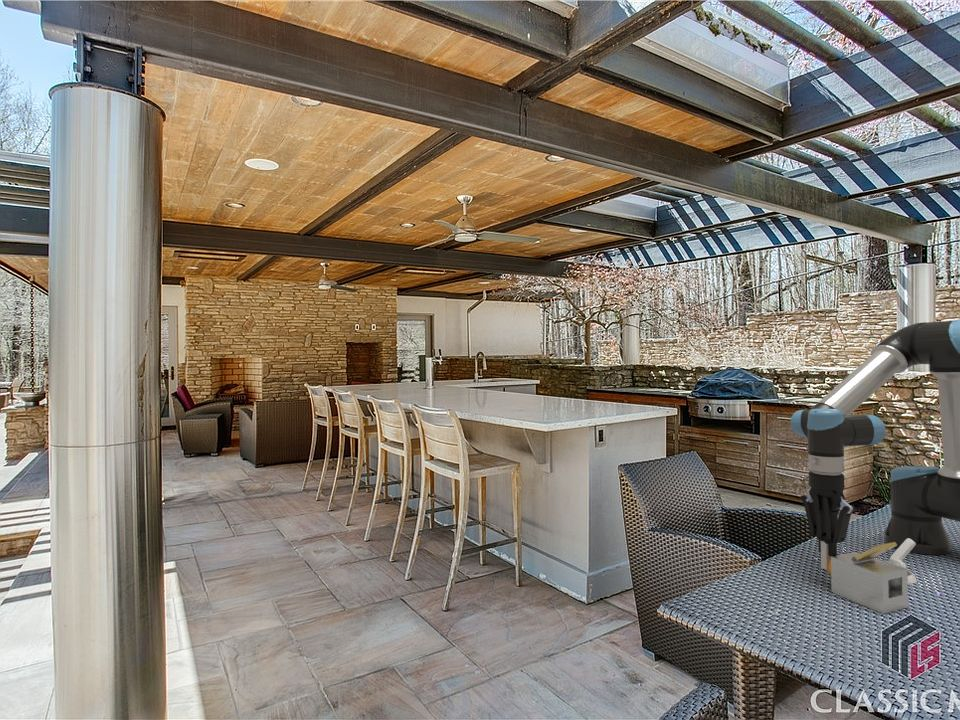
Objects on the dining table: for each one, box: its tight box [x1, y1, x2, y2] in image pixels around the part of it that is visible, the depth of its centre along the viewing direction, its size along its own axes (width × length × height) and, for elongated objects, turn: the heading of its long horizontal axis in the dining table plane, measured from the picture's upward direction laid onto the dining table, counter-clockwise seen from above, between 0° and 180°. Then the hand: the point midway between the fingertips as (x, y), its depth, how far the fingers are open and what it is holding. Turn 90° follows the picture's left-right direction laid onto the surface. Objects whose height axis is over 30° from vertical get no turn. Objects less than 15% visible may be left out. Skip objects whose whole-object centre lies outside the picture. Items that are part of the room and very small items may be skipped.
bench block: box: [830, 551, 909, 614], centre depth 129 cm, size 8×12×8 cm, turn 20°
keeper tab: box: [852, 542, 897, 562], centre depth 127 cm, size 6×8×1 cm
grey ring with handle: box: [887, 538, 918, 585], centre depth 141 cm, size 8×12×7 cm
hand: (827, 567), depth 138 cm, fingers closed
